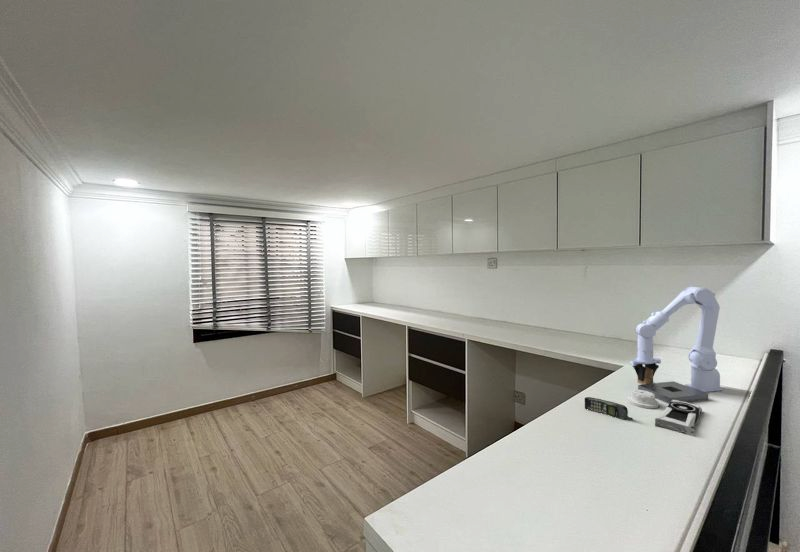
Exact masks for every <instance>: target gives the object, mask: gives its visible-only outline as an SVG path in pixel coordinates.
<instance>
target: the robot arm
mask: <svg viewBox="0 0 800 552" xmlns="http://www.w3.org/2000/svg"><path fill="white" fill-rule="evenodd" d="M694 304H695V305H696V306H698V307H699V308H700V309H701V313H700V318H699V325H698V330H697V335H696V342H695V344H694V345H693V346H692V347H691V350H690V352H689V353H688V354H687V358H688V360H689V362H690V363H691V364H690V383H686V384H684V385H685V386H688V387H691V388H694V389H697V390H699V391H702V392H705V393H708V392H709V393H710V392H718V391H723V388H721V374H720V372H719V370H718V369H717V368H716V367H717V366H718V361H717V358H716V356H717V354H716V351H715V350H714V343H715V336H716V332H717V331H716V330H717V325H718V320H719V314H720V307H721V306H720V305H719V302H718V300H717V298H716V293H714V292H713V291H712V290H711V289H709V288H707V287H698V286H694V285H693V286H692V285H691V286H688V287H685V289H684V290H682V291H681V292H679V294H678V295H677V296H676V297H675V298H674V299H673V300H672V301H671V302H670V303H668V304H667V306H665V307H664V308H663V309H662V310H661V311H655V312H651V314H650V316H649V317H648V318H646V320H643V321H642V323H639V324H638V325H636V328H635V329H634V330H635V332H636V334H637V341H636V342H637V357H635V358H634V359H632V360H629V366H632V367H633V370H634V371H635V374H636V376H637V381H638V380H640V381H644V374H645V370H646V367H647V368H650V369H653V377H654V376H655V373H656V372H657V370H658V369H659V367H660V366H659V365H660V364H662V359H660V358H657V357H654V337H655V336H656V333H657V331H658V330H660V329H661V328H662V327H663V326H664V325H666V324H667V323H668V322H669V320H670V317H671V316H672V315H673V314H675V313H676V312H677V311H679V309H681V308H683V307H684V306H686V305H694Z"/></svg>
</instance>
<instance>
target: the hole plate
mask: <svg viewBox="0 0 800 552" xmlns="http://www.w3.org/2000/svg"><path fill="white" fill-rule="evenodd" d="M637 390H644V391H648V392H651V393H653V394H654V395H655V400H658V401H660V402H661V401H662V402H664V403H665V404H668V405H669V403H670V401H672V400H678V401H681V402H688V403H694V402H695V403H696V402H702V401H709V393H708V392H703V391H700V390H697V389H694V388H691V387H688V386H686V385H685V384H682V383H679V382H677V381H674V380H673V381H664V382H656V383H655V382H653V384H638V385H637Z"/></svg>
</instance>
